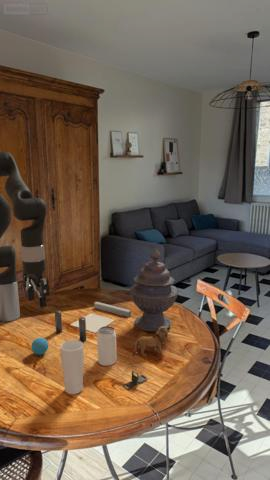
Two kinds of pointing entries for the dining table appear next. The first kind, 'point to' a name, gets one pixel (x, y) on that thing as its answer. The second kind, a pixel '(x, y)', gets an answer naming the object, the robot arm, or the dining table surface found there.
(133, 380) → the strap clip
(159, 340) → the lion figurine
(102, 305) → the wall
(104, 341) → the can
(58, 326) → the post left
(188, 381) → the dining table surface
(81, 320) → the post right
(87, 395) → the dining table surface
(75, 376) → the drinking glass
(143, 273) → the decorative urn
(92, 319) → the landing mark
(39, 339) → the ball
